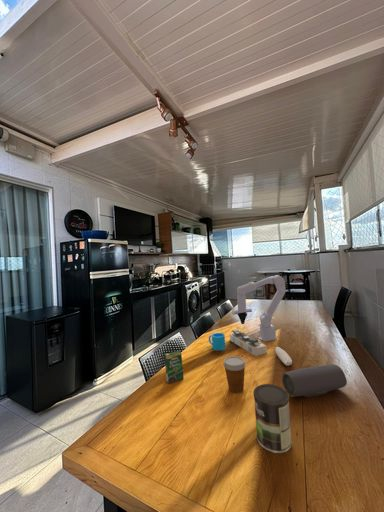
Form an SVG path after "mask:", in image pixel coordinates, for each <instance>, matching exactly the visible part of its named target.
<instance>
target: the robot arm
mask: <svg viewBox="0 0 384 512" xmlns="http://www.w3.org/2000/svg"><path fill="white" fill-rule="evenodd" d="M267 284H270V285H275V288H276V292H275V294H274V296H273V297H272V299H271V301H270V303H269V304H268V306H267V308H266V310H265V311H264V312H263V313H262V314H261V315H260V316H259V320H260V324H259V330H260V331H259V332H260V336H258V337H257V338H258V340H261V341H263V342H265V343H267V342H271V341H275V340H277V334H276V327H275V326H274V325H273V324H271V323H272V318H273V315H274V314H275V312H276V310H277V308H278V306H279V304H280V303H281V301H282V299H283V298H284V295H285V294H286V293H287V292H286V291H287V290H286V281H285V279H284V278H283V277H282V276H280V275H279V274H276V275H275V274H274V276H273V275H272V276H268V277H265V278H264V279H261V280H259V281H256V282H254V281H249V282H248V283H246V284H242V285H240V286H238V287H237V288H236V296H237V297H236V301H237V310H233V311H232V312H231V314H232V315H233V316H234V315H237V316H238V318H239V320H240V323H241V325H245V322H246V319H247V317H248V313H252V312H253V311H252V310H253V308H252V309H251V308H247V300H246V299H247V297H246V294H248V293H250V292H254V291H256V290H257V288H259V287H262V286H265V285H267Z"/></svg>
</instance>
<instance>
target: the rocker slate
mask: <svg viewBox="0 0 384 512" xmlns="http://www.w3.org/2000/svg"><path fill="white" fill-rule="evenodd" d="M248 342H250V343H257V342H260V341H259V339H257V338H252V339H249V340H248Z"/></svg>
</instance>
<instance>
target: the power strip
mask: <svg viewBox="0 0 384 512" xmlns="http://www.w3.org/2000/svg"><path fill="white" fill-rule="evenodd" d="M248 337H249V339H253V338H252V337H250V336H248ZM230 340H231V341H230ZM229 341H230V342H232V343H233V342H234V343H233V344H234V345H237V346H239V347H240V348H242V349H244V350H245V351H246V352H248V353H250V355H253V356H255V357H257V356H262V355H265V354H267V353H268V352H267V345H266V344H263V343H262V342H261V341H259V342H257V343H250V342H248V340H244V339H243V338H242V337H241V336H240V335H238V336H237V335H235V334H234V333H233V332H232V333H229Z"/></svg>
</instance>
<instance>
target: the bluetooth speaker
mask: <svg viewBox="0 0 384 512" xmlns="http://www.w3.org/2000/svg"><path fill="white" fill-rule="evenodd" d="M281 381H282V385H283V389H284V390H285V391H286V392H287V393H288V395H289V397H293V398H294V397H305V398H310V397H318V396H322V395H326V394H328V392H331V391H334V390H338V389H342V388H344V387H346V386H347V384H348V383H347V382H348V381H347V377H346V374H345V372H344V370H343V369H342V368H341V366H339V365H337V364H324V365H317V366H315V365H314V366H309V367H305V368H299V369H294V370H290V371H285V372H284V373H282V379H281Z"/></svg>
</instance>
